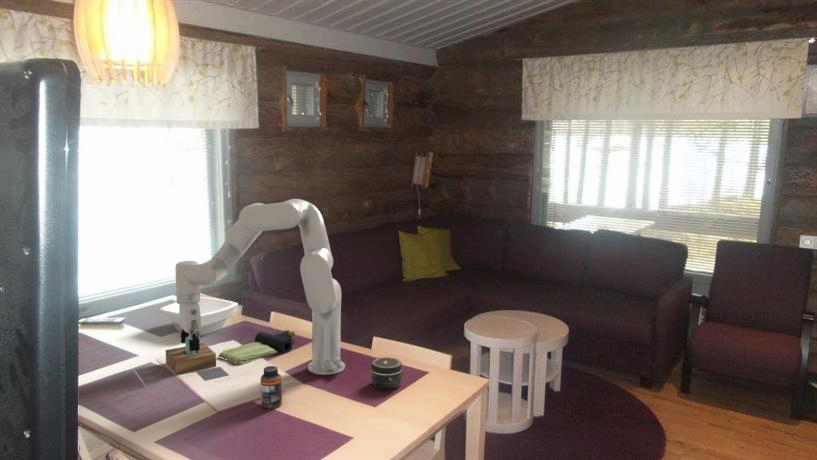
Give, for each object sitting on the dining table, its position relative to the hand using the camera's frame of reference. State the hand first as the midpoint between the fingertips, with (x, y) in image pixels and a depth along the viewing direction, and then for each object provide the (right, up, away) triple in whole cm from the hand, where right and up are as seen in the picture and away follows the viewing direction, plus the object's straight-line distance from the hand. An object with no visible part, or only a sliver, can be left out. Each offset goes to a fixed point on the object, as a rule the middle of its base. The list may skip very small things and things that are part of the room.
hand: (190, 346), depth 197 cm
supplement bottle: (+35, -12, -28) cm, 46 cm away
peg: (0, -7, +1) cm, 7 cm away
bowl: (-11, -2, +40) cm, 42 cm away
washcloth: (+17, -6, +11) cm, 21 cm away
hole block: (0, -7, +1) cm, 7 cm away
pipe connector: (+26, -5, +23) cm, 35 cm away
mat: (+10, -8, -6) cm, 14 cm away
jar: (+68, -10, -12) cm, 69 cm away
